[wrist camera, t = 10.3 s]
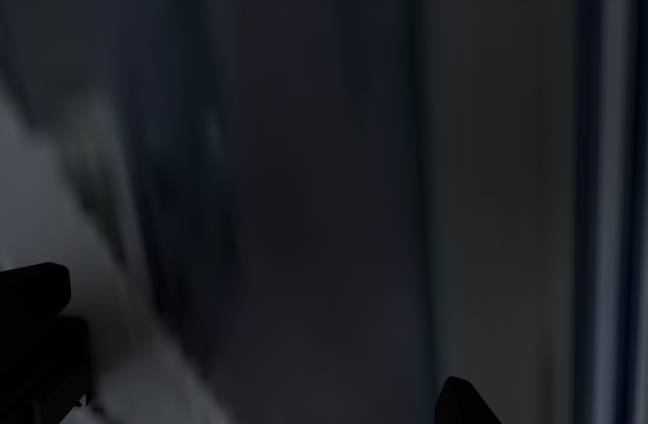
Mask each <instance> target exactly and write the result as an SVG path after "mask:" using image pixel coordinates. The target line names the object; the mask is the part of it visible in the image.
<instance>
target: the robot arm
mask: <svg viewBox="0 0 648 424" xmlns="http://www.w3.org/2000/svg"><path fill="white" fill-rule="evenodd" d="M70 299H71V285H70V275H69V270H68V268H67V267H65V266H63V265H59V264H56V263H52V262H46V263H41V264H36V265H31V266H26V267H21V268H16V269H11V270H7V271H2V272H0V424H59V423H60V422H61V421H62V420H63V419H64V418H65V417H66V415H67V414H68V413H69V412H70V411H71V410H78V411H79V410H83V409H84V408H85V407H86V406H87V405H88V404H89V402H90V358H89V355H88V331H87V324H86V322H85V321H83V320H82V319H78V318H71V317H63V316H58V315H59V313H60V312H61V311H62V310H63V309H64V308H65V307H66V306H67V305H68V303H69V301H70ZM75 326H77V327H78V329H77V328H76V327H75ZM434 424H502V423H501V422H500V421H499V419H498V418H497V417H496V415H495V414H494V413H493V411H492V410H491V409H490V408H489V406H488V405H487V404H486V402H485V401H484V400H483V398H482V397H481V396H480V394H479V393H478V392H477V391H476V389H475V388H474V387H473V385H472V384H471V383H470V382H469V381H467V380H464V379H461V378H457V377H454V376H450V377H448V378H447V379H446V381H445V384H444V386H443V388H442V391H441V393H440V395H439V398H438V400H437V402H436V406H435V414H434Z"/></svg>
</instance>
